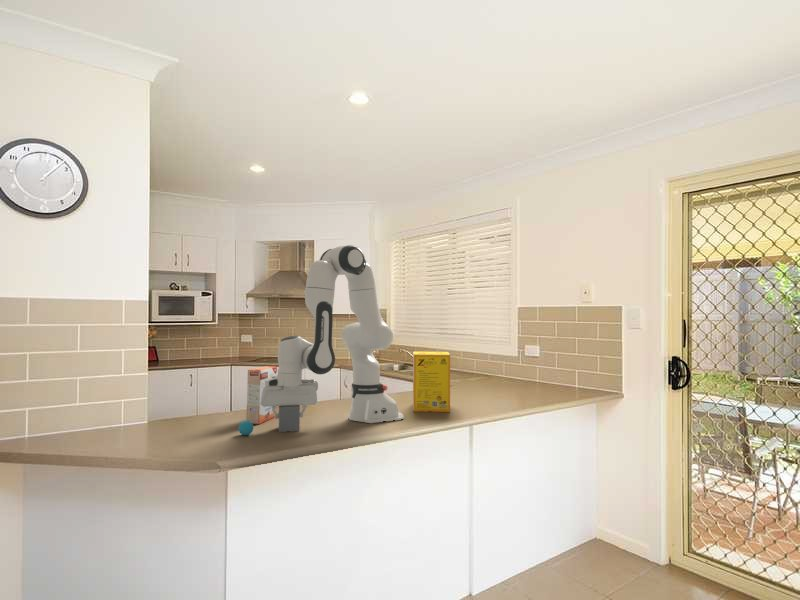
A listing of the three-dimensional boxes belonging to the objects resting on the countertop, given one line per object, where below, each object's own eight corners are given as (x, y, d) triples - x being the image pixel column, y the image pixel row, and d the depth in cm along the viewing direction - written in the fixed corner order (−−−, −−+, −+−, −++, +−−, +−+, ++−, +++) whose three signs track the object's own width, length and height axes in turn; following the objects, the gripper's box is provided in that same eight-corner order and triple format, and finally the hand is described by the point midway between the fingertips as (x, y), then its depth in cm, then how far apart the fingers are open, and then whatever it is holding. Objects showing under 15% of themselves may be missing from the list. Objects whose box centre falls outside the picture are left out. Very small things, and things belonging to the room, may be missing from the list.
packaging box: (413, 404, 222) (413, 351, 223) (447, 404, 222) (447, 351, 222) (412, 411, 206) (413, 354, 207) (450, 411, 205) (450, 354, 206)
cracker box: (260, 425, 179) (260, 370, 180) (245, 424, 180) (246, 369, 181) (276, 417, 193) (277, 366, 193) (263, 416, 194) (264, 365, 194)
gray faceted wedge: (298, 426, 177) (298, 402, 177) (299, 430, 170) (299, 406, 170) (278, 427, 175) (278, 403, 175) (278, 432, 168) (279, 407, 169)
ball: (253, 432, 167) (253, 418, 167) (253, 436, 162) (253, 421, 162) (238, 433, 166) (239, 419, 166) (237, 437, 161) (238, 422, 161)
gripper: (317, 378, 179) (316, 414, 178) (261, 379, 173) (260, 417, 173) (319, 380, 173) (318, 418, 172) (261, 381, 167) (260, 420, 167)
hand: (288, 417), depth 173 cm, fingers closed on gray faceted wedge, 7 cm apart
